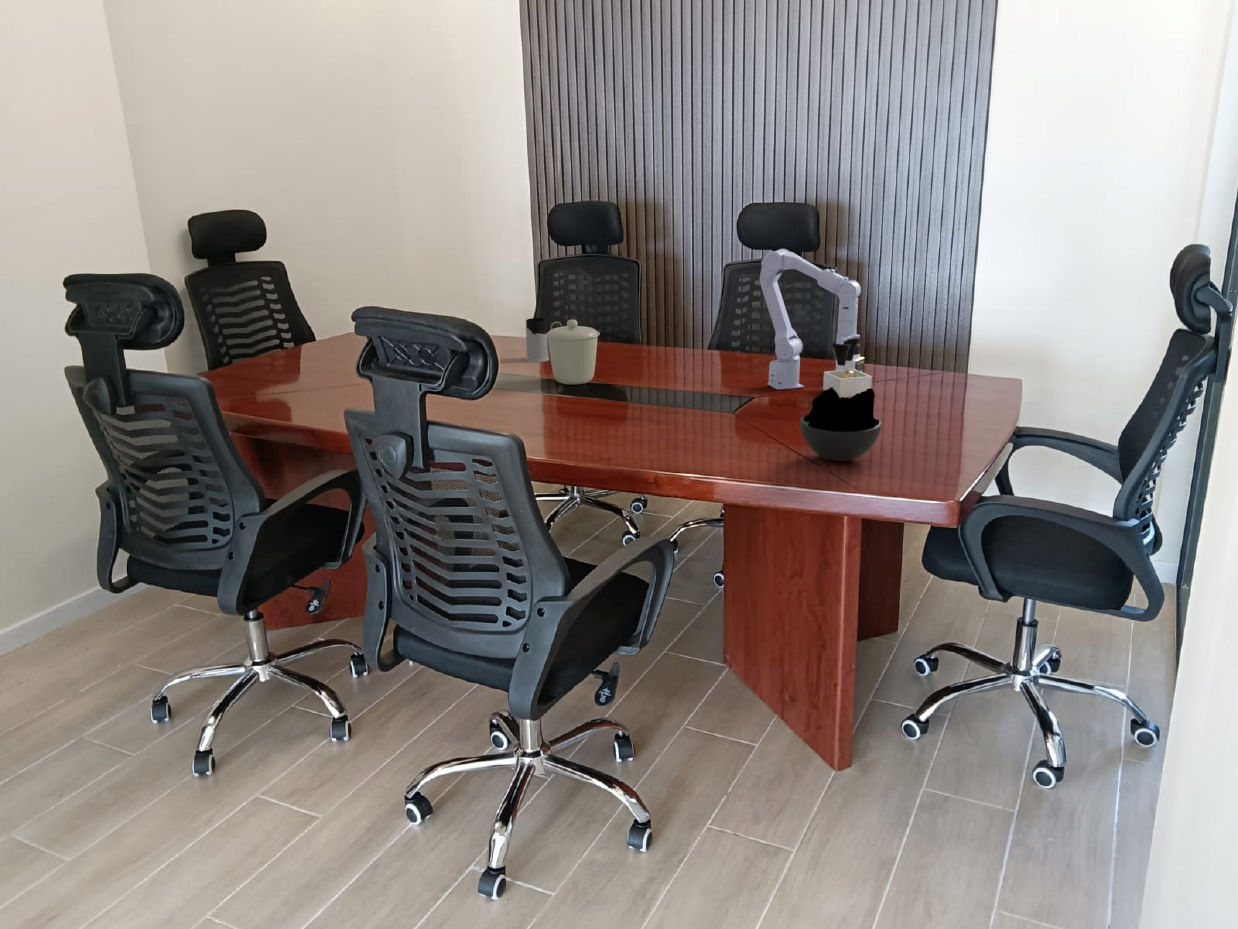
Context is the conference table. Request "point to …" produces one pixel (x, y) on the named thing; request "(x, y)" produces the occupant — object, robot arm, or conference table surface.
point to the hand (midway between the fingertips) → (844, 362)
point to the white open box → (847, 382)
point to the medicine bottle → (853, 362)
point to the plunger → (847, 374)
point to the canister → (573, 353)
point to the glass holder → (537, 340)
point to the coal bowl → (841, 425)
